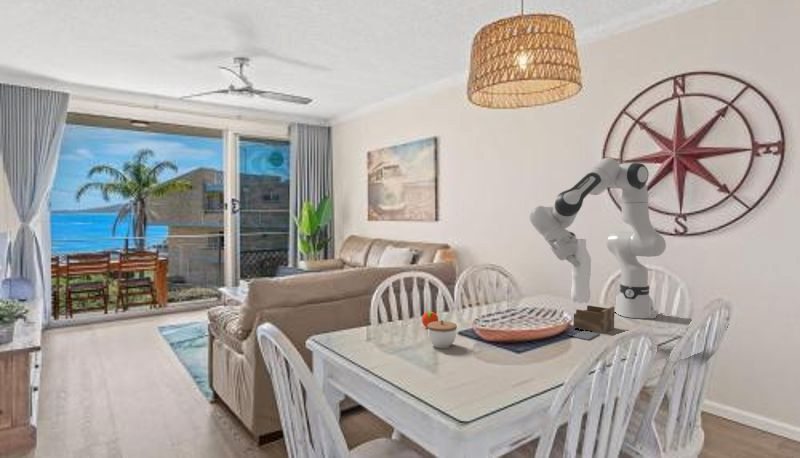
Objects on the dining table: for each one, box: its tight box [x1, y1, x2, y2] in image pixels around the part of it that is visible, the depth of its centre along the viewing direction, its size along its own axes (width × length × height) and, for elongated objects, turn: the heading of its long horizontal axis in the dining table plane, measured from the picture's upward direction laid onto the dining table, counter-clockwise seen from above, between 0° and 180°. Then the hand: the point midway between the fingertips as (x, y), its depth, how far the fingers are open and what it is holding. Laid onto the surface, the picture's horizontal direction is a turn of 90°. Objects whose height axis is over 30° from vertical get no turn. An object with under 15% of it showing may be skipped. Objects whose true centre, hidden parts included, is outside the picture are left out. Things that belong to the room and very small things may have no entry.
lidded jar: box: [426, 319, 458, 349], centre depth 165 cm, size 11×11×9 cm
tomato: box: [421, 311, 439, 329], centre depth 189 cm, size 8×7×7 cm
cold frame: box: [573, 305, 616, 335], centre depth 189 cm, size 12×12×9 cm
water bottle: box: [570, 238, 592, 304], centre depth 178 cm, size 7×7×25 cm
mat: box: [573, 330, 601, 341], centre depth 179 cm, size 11×11×1 cm
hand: (582, 265), depth 178 cm, fingers closed on water bottle, 7 cm apart
